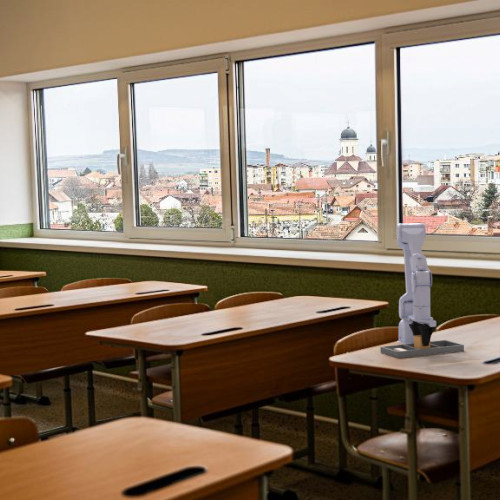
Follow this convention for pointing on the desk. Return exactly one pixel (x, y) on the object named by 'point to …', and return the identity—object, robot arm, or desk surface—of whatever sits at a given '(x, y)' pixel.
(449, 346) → the organizer
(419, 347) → the letter cube
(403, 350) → the eraser
